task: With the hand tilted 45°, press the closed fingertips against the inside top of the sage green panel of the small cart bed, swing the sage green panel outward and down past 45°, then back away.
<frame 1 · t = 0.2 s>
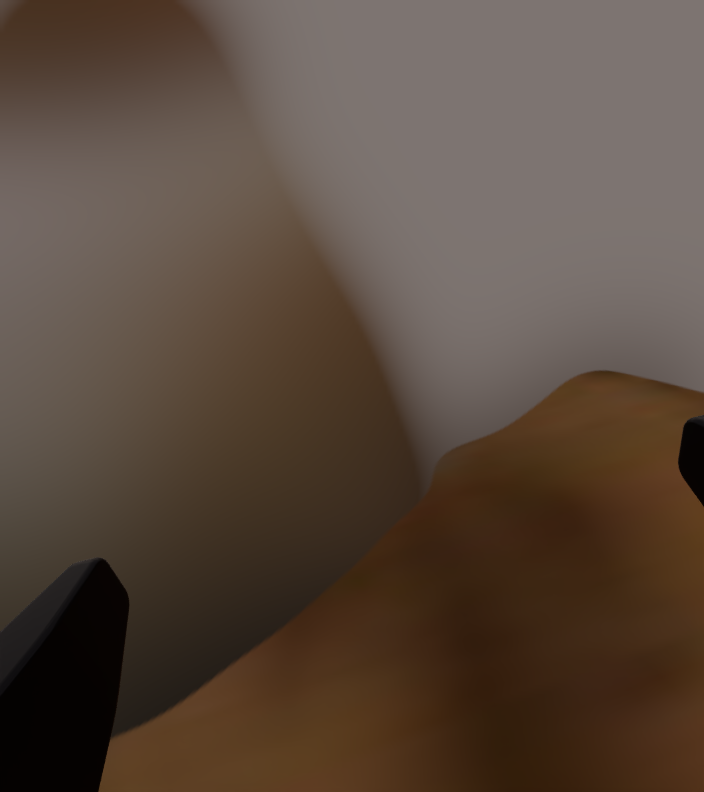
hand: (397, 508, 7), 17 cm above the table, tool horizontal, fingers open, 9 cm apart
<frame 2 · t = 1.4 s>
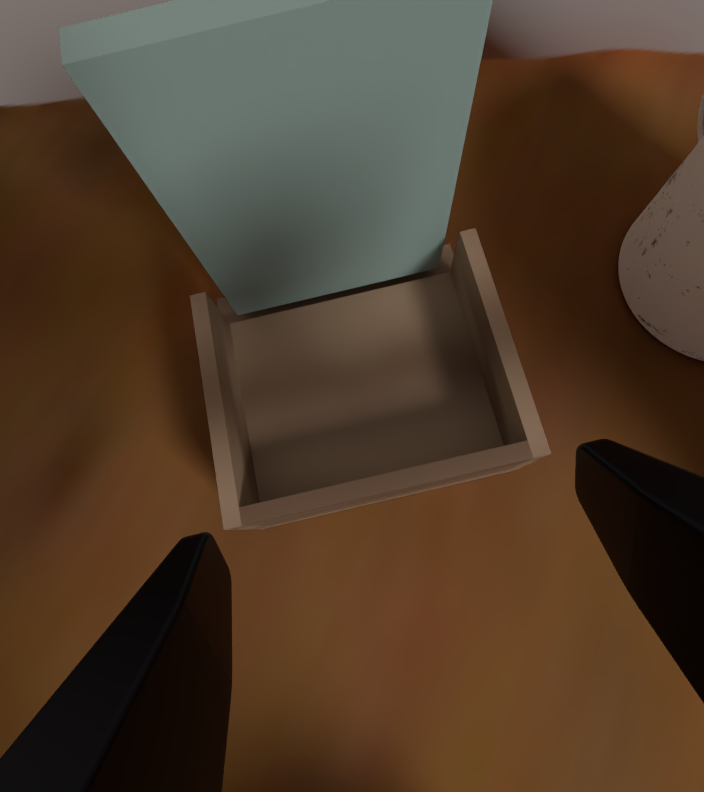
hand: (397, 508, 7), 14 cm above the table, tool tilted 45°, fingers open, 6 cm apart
cart bed: (360, 390, 22), on the table
sage green panel: (316, 189, 16), point 8 cm above the table, hinge at 0.0°
teacup with lid: (699, 253, 23), on the table
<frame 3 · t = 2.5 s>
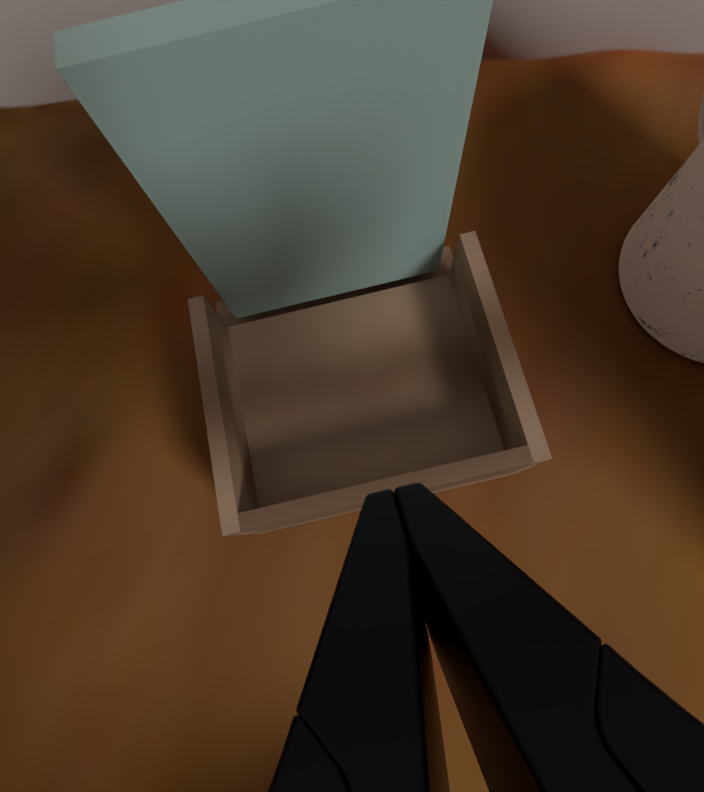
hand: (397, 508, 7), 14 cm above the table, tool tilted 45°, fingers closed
cart bed: (360, 393, 22), on the table
sage green panel: (314, 192, 16), point 8 cm above the table, hinge at 0.0°
teacup with lid: (700, 254, 23), on the table
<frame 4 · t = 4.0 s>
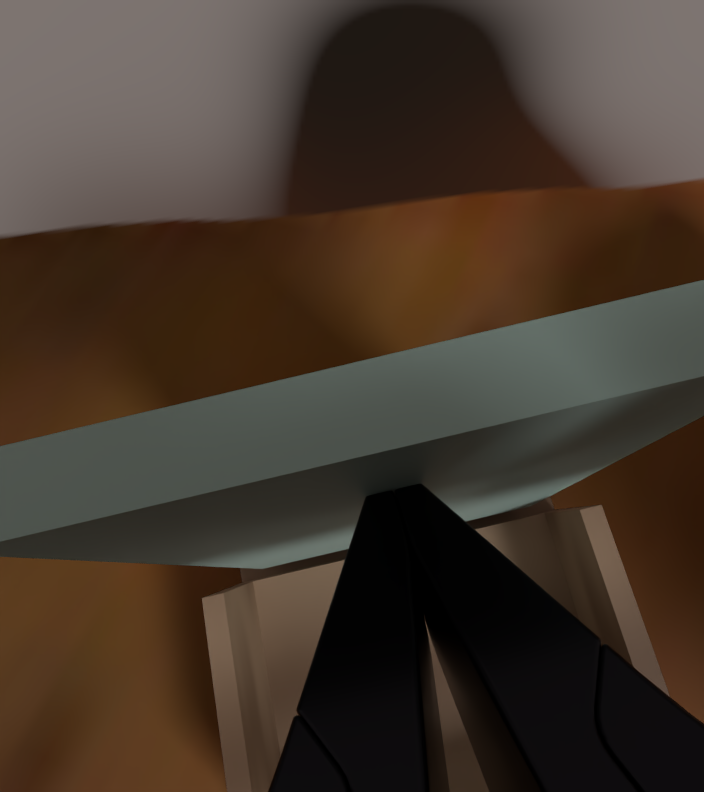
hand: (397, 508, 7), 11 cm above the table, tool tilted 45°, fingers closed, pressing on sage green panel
cart bed: (423, 654, 17), on the table
sage green panel: (387, 484, 11), point 8 cm above the table, hinge at 5.2°, touching gripper
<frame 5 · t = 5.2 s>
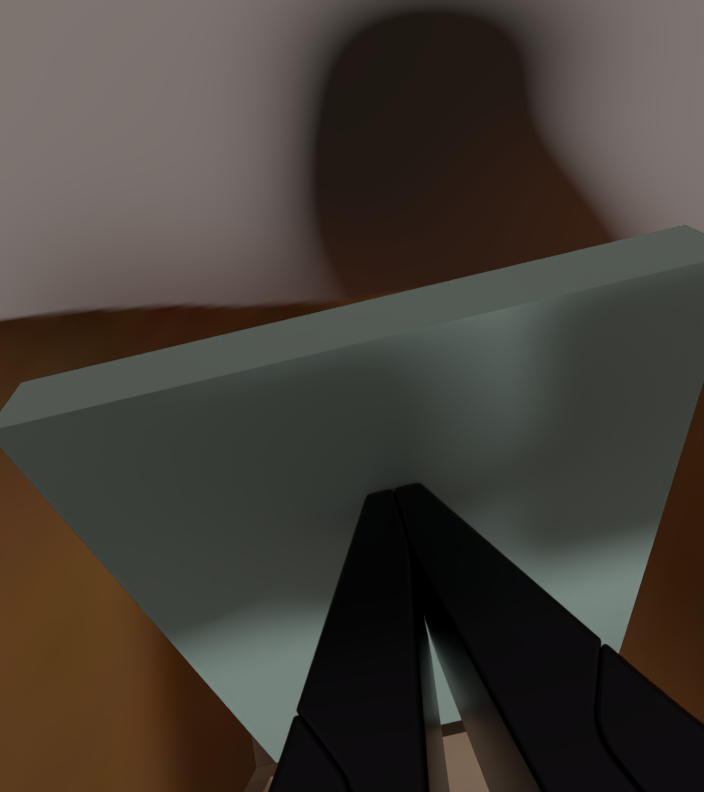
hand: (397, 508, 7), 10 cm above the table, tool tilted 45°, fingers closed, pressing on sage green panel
sage green panel: (410, 580, 10), point 7 cm above the table, hinge at 37.3°, touching gripper
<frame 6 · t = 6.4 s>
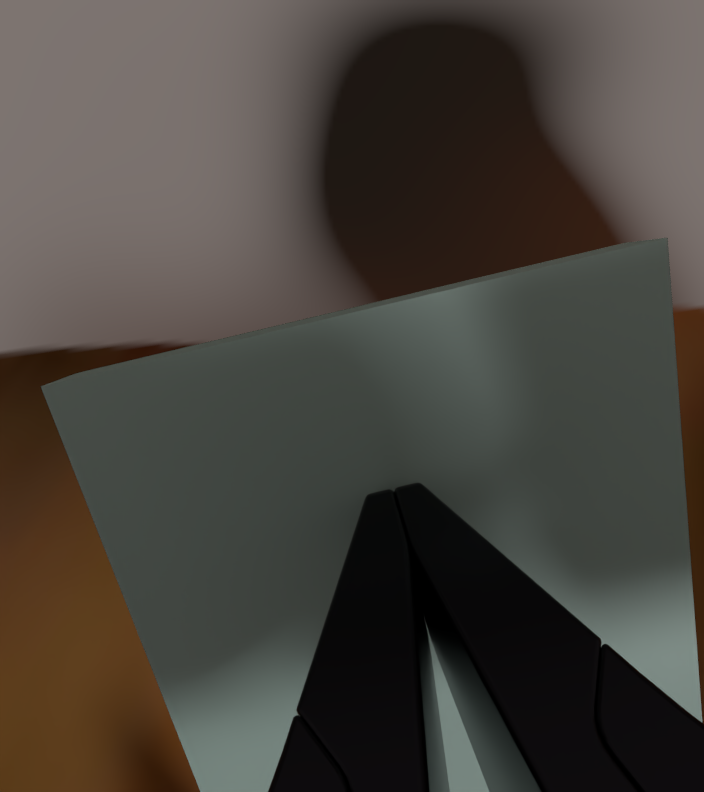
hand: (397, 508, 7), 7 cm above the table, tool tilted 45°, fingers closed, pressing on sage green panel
sage green panel: (426, 643, 9), point 5 cm above the table, hinge at 60.9°, touching gripper
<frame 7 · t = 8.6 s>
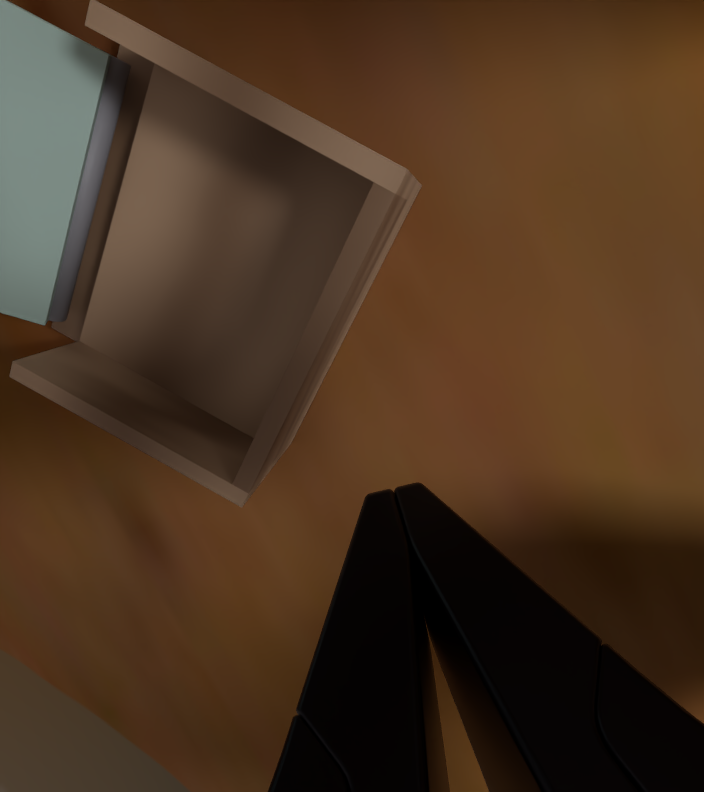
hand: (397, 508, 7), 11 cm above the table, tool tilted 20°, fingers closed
cart bed: (232, 265, 18), on the table
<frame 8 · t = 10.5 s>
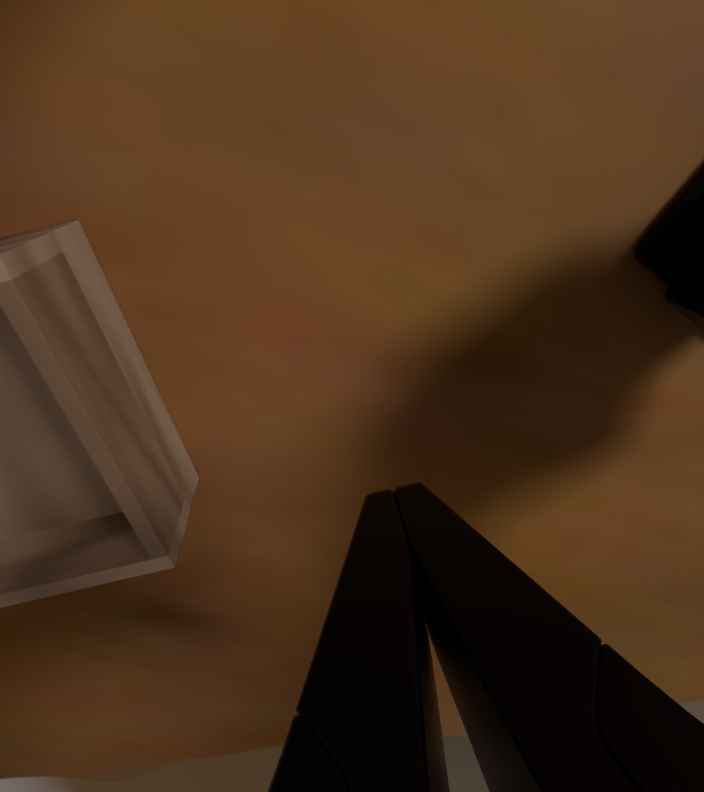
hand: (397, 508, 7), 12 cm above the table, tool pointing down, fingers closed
cart bed: (20, 397, 19), on the table
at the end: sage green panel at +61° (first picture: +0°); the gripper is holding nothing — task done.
